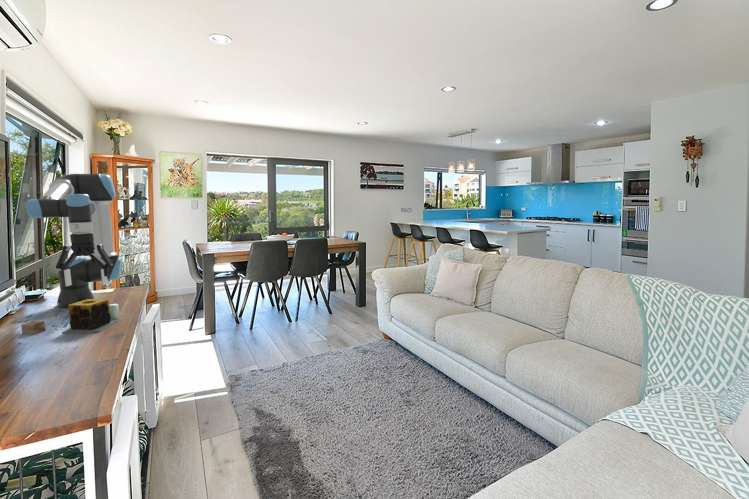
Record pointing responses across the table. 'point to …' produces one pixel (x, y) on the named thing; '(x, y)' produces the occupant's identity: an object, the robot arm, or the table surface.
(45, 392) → the table surface
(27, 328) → the walnut block
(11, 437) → the table surface
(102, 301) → the candle
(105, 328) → the coaster
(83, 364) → the table surface
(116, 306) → the sage capsule
